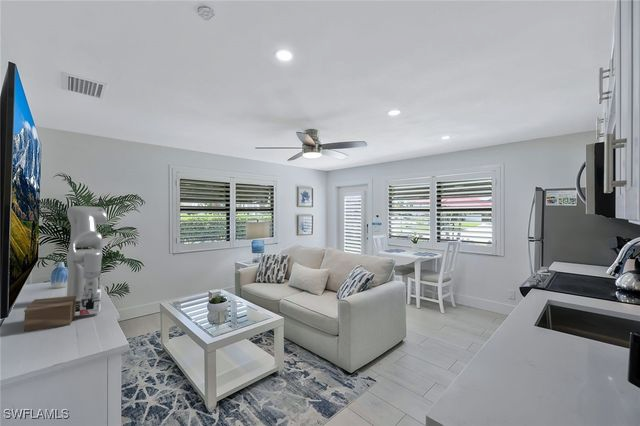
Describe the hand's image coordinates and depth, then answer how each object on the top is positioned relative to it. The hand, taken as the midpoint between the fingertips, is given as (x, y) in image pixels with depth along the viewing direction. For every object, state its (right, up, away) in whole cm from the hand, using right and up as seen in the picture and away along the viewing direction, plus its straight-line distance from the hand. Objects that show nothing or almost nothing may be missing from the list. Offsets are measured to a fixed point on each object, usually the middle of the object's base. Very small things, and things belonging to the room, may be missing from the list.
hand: (90, 307), depth 152 cm
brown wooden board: (-10, +5, -11) cm, 16 cm away
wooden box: (-11, -4, -11) cm, 16 cm away
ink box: (0, -3, 0) cm, 3 cm away
